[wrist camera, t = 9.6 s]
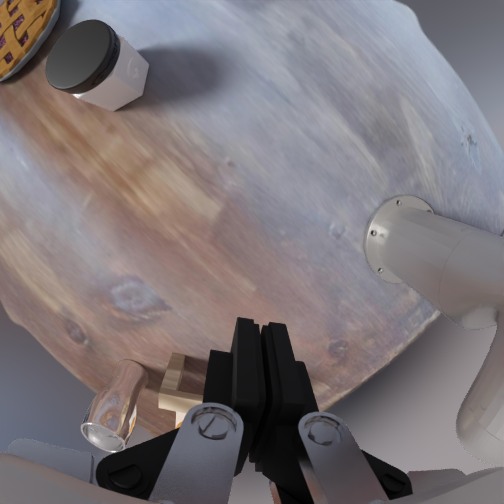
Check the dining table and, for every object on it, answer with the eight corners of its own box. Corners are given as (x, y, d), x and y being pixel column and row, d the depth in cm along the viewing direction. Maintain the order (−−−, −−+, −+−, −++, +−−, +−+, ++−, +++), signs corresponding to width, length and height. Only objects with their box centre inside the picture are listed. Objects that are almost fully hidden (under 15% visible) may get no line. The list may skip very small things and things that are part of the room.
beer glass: (158, 386, 43) (136, 454, 29) (125, 390, 43) (98, 452, 29) (140, 354, 41) (108, 422, 27) (106, 359, 41) (69, 421, 27)
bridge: (172, 352, 41) (158, 392, 32) (266, 368, 42) (271, 410, 33) (171, 367, 42) (158, 407, 33) (262, 382, 43) (266, 423, 34)
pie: (-24, 56, 24) (-39, 52, 20) (46, -28, 21) (34, -37, 16) (2, 110, 29) (-17, 108, 24) (88, 8, 26) (74, -4, 21)
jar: (141, 111, 32) (99, 90, 20) (88, 112, 31) (36, 97, 20) (155, 50, 29) (122, 10, 18) (102, 54, 29) (58, 23, 17)
